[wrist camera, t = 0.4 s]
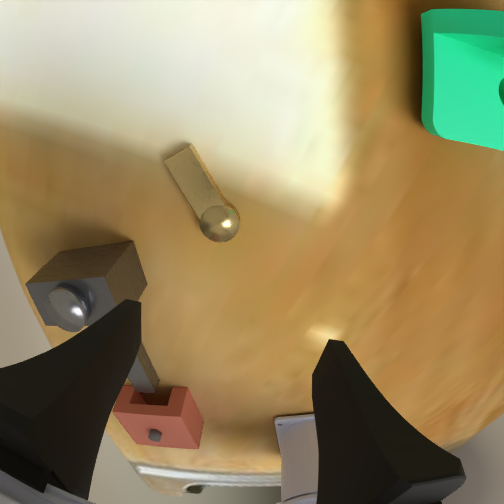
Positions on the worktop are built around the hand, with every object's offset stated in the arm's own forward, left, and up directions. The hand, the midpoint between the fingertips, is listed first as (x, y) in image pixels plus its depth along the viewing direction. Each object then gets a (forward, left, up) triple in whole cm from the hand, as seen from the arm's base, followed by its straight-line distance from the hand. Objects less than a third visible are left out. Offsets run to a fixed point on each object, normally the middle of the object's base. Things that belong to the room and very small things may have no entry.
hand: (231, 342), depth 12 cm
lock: (-17, +11, -10) cm, 23 cm away
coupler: (-6, +11, -10) cm, 16 cm away
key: (+4, +2, -10) cm, 11 cm away
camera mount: (+9, -18, -11) cm, 22 cm away
